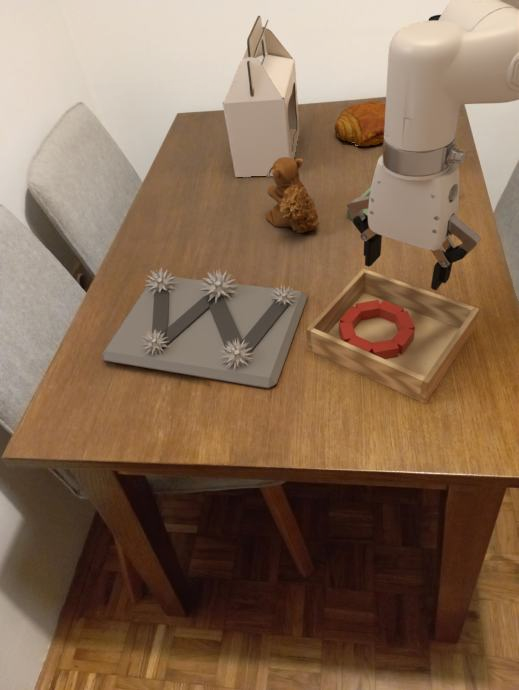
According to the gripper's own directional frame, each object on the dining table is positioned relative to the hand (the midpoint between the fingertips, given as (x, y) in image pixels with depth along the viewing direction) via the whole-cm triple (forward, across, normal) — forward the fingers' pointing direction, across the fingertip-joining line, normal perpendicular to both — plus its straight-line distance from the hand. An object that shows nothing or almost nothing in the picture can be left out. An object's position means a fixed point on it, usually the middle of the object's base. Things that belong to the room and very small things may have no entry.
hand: (404, 272), depth 71 cm
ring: (+14, +4, 0) cm, 14 cm away
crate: (+15, +1, 0) cm, 15 cm away
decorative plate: (+15, +28, +13) cm, 34 cm away
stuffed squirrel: (+15, +33, -20) cm, 42 cm away
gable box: (+15, +56, -41) cm, 71 cm away
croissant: (+15, +40, -59) cm, 72 cm away
